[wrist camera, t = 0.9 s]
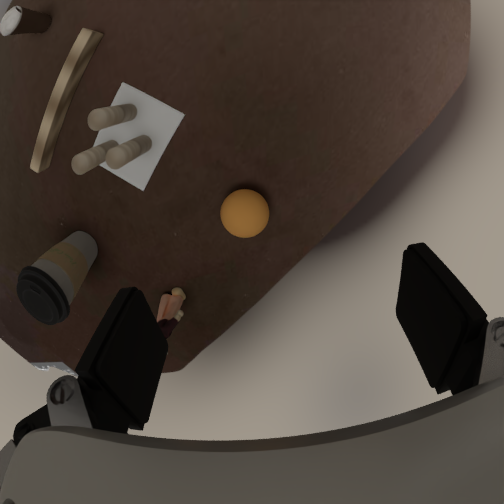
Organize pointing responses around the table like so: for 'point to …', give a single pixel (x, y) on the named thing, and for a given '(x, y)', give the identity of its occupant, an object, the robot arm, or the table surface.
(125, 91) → the pin deck mark
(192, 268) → the table surface
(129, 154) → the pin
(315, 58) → the table surface
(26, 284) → the coffee cup
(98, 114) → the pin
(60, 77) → the back rail
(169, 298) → the grandmother figurine
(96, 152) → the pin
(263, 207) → the ball
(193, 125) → the table surface
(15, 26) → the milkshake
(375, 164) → the table surface
